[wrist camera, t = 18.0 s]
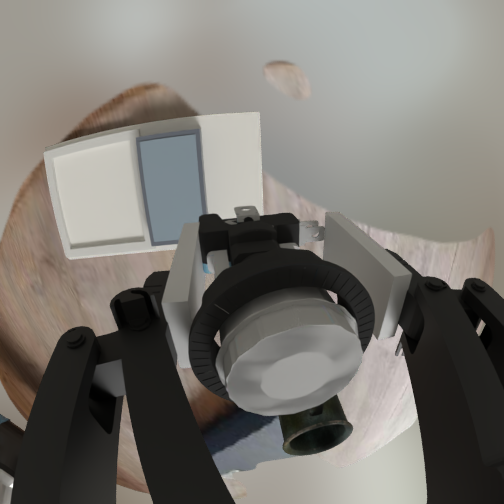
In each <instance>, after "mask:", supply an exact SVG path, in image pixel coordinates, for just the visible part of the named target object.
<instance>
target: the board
mask: <svg viewBox="0 0 504 504" xmlns="http://www.w3.org/2000/svg"><path fill="white" fill-rule="evenodd" d="M200 128H201V132H202V146H203V159H204V172H205V183H206V195H207V205H208V214H218V215H219V216H220V218H221V219H231V218H237V217H236V214H235V211H234V208H235V207H240V206H255V207H256V209H257V210H258V213H259V214H260V216H262V215H263V189H262V162H261V136H260V135H261V134H260V114H259V112H241V113H224V114H213V115H212V114H211V115H201V116H191V117H183V118H175V119H167V120H161V121H154V122H148V123H142V124H137V125H131V126H126V127H121V128H117V129H112V130H107V131H103V132H99V133H95V134H91V135H87V136H83V137H79V138H75V139H72V140H68V141H65V142H61V143H58V144H55V145H52V146H49V147H46V148H45V150H46V152H44V160H45V167H46V173H47V179H48V185H49V190H50V195H51V200H52V205H53V209H54V214H55V218H56V222H57V226H58V230H59V234H60V237H61V241H62V245H63V248H64V251H65V255H66V258H69V260H71V259H80V258H90V257H101V256H111V255H121V254H131V253H142V252H153V251H163V250H174V249H176V248H177V245H178V244H172V245H162V246H151V241H150V235H149V230H148V224H147V219H146V213H145V207H144V200H143V194H142V187H141V180H140V172H139V164H138V156H137V146H136V137H141V136H147V135H153V134H160V133H167V132H174V131H182V130H191V129H200ZM243 210H244V211H245V210H250V209H243Z"/></svg>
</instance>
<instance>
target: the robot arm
mask: <svg viewBox="0 0 504 504" xmlns="http://www.w3.org/2000/svg"><path fill="white" fill-rule="evenodd" d="M199 224H200V223H199V222H194V223H184V225H183V228H182V232H181V235H180V238H179V241H178V245H177V248H176V252H175V255H174V258H173V262H172V265H171V269H170V271H158V272H153V273H152V274H151V275H150V276H149V277H148V278H147V279H146V281H145V284H144V286H143V287H144V288H139V287H138V288H131V289H128V290H125V291H122V292H121V293H119V294H117V295H116V296H115V297H114V298H113V299H112V300H111V303H110V308H111V311H112V313H113V316H114V319H115V321H116V324H117V326H118V331H116V332H113V333H110V334H106V335H102V336H98V337H96V336H95V333H94V332H93V330H92V329H90V328H89V327H84V326H80V327H75V328H72V329H70V330H68V331H67V332H65V333H64V334H63V335H62V336H61V338H60V339H59V340H58V343H57V345H56V347H55V349H54V352H53V354H52V356H51V359H50V361H49V363H48V366H47V368H46V371H45V373H44V376H43V379H42V381H41V384H40V387H39V389H38V392H37V395H36V398H35V401H34V404H33V407H32V410H31V413H30V416H29V419H28V422H27V426H26V429H25V431H23V430H22V429H21V428H19V427H18V426H16V425H15V424H14V423H12V422H11V421H10V419H8V418H5V417H4V416H3V415H1V414H0V504H116V478H117V457H118V443H119V432H120V422H121V413H122V404H123V397H124V395H126V397H127V402H128V408H129V413H130V419H131V423H132V428H133V433H134V437H135V442H136V446H137V450H138V454H139V458H140V462H141V465H142V469H143V472H144V476H145V479H146V483H147V486H148V489H149V492H150V495H151V498H152V501H153V504H235V502H234V500H233V498H232V496H231V494H230V493H229V491H228V489H227V487H226V485H225V483H224V481H223V479H222V477H221V475H220V473H219V471H218V469H217V467H216V465H215V463H214V460H213V458H212V456H211V454H210V452H209V450H208V447H207V445H206V443H205V441H204V438H203V436H202V434H201V431H200V429H199V427H198V424H197V422H196V419H195V417H194V415H193V412H192V410H191V407H190V404H189V402H188V399H187V397H186V394H185V391H184V389H183V386H182V383H181V380H180V378H179V375H178V372H177V369H176V365H177V359H178V363H179V366H180V368H191V365H190V361H189V355H188V343H189V333H190V328H191V325H192V322H193V319H194V317H195V316H196V314H197V312H198V310H199V309H200V307H201V305H202V296H203V294H204V292H205V276H206V273H205V272H204V270H203V263H202V256H201V249H200V241H199V233H198V230H199ZM323 260H324V261H329V262H331V263H334V264H337V265H339V266H341V267H343V268H345V269H346V270H348V271H349V272H350V273H352V274H353V275H354V276H355V277H356V278H357V279H358V280H359V281H360V282H361V284H362V285H363V286H364V287H365V288H366V290H367V291H368V293H369V295H370V297H371V299H372V302H373V305H374V310H375V325H374V330H373V334H374V335H375V337H376V339H377V340H382V339H386V338H390V337H393V336H395V333H396V330H397V327H398V324H399V325H400V326H401V328H402V329H403V332H402V335H401V338H400V341H399V344H398V346H397V349H396V352H395V356H398V355H399V352H400V349H401V348H403V353H402V356H405V359H406V363H407V367H408V371H409V376H410V380H411V384H412V389H413V394H414V399H415V404H416V409H417V414H418V420H419V426H420V432H421V438H422V446H423V453H424V462H425V471H426V483H427V504H504V299H503V298H502V297H501V296H500V295H499V294H498V293H497V292H496V291H494V289H492V288H491V287H490V286H489V285H488V284H487V283H485V282H484V281H482V280H481V279H478V278H468V279H466V280H465V282H464V285H463V288H462V290H455V289H451V288H450V287H449V285H448V284H447V283H446V282H445V281H443V280H441V279H438V278H436V277H430V276H427V277H423V276H421V275H420V274H419V273H418V272H417V271H416V270H415V269H414V268H413V267H411V266H410V265H408V263H407V262H406V261H405V260H403V259H402V258H401V257H400V256H399V255H398V254H396V253H394V252H392V251H390V250H388V249H384V248H383V247H381V246H380V245H379V244H378V243H377V242H376V241H374V240H373V239H372V238H371V237H370V236H368V235H367V234H366V233H365V232H364V231H362V230H361V229H360V228H359V227H358V226H356V225H355V224H354V223H353V222H351V221H350V220H349V219H348V218H346V217H345V216H344V215H343V214H341V213H340V212H326V216H325V235H324V251H323ZM481 319H482V320H483V321H484V323H485V324H486V325H485V327H484V329H483V331H482V333H481V335H480V336H478V334H477V332H476V330H477V328H478V326H479V324H480V321H481Z"/></svg>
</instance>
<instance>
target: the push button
mask: <svg viewBox="0 0 504 504" xmlns="http://www.w3.org/2000/svg"><path fill="white" fill-rule="evenodd" d="M243 209H250V210H245V211H244V210H243ZM234 211H235V214H236V217H237V218H231V219H221V218H220V216H219V215H218V214H204V215H201V216H199V223H200V224H199V230H198V233H199V241H200V249H201V256H202V263H203V270H204V272H205V273H214V276H215V280H214V281H213V282H212V284H211V285H210V286H209V287H208V289H207V290H206V291H205V292H204V294H203V296H202V305H201V307H200V309H199V310H198V312H197V314H196V316H195V317H194V319H193V322H192V325H191V328H190V333H189V343H188V355H189V361H190V365H191V368H192V370H193V372H194V374H195V376H196V377H197V379H198V380H199V381H200V382H201V383H202V384H203V385H204V386H205V387H206V388H207V389H208V390H210V391H211V392H213V393H214V394H216V395H218V396H219V397H222V398H224V399H226V400H229V401H232V402H235V403H236V404H237V405H238V407H240V408H242V409H244V410H245V411H249V412H253V413H258V414H261V415H267V416H272V415H285V414H294V413H298V412H301V411H304V410H307V409H310V408H312V407H315V406H318V405H320V404H322V403H324V402H326V401H327V400H328V399H330V398H331V397H333V396H334V395H336V394H337V393H339V392H340V391H342V390H343V389H344V387H346V386H347V385H348V384H349V382H350V381H351V379H352V378H353V377H354V376H355V375H356V373H357V372H358V369H359V366H360V365H361V363H362V360H361V359H362V355H363V353H364V352H365V350H366V348H367V346H368V344H369V342H370V340H371V337H372V334H373V330H374V325H375V310H374V305H373V302H372V299H371V297H370V295H369V293H368V291H367V290H366V288H365V287H364V286H363V285H362V284H361V282H360V281H359V280H358V279H357V278H356V277H355V276H354V275H353V274H352V273H350V272H349V271H348V270H346V269H345V268H343V267H341V266H339V265H337V264H334V263H331V262H329V261H324V260H322V259H321V258H319V257H318V256H317V255H316V254H314V253H313V252H311V251H309V250H300V249H299V246H301V245H305V242H314V241H323V240H324V231H325V228H324V227H323V226H318V221H317V220H316V221H304V222H300V219H297V218H296V217H295V216H294V215H293V214H292V213H279V214H273V215H262V216H260V214H259V213H258V210H257V209H256V207H255V206H240V207H235V208H234ZM308 225H312V226H313V227H307V226H308ZM306 227H307V228H306ZM318 232H319V235H318V236H317V237H312V235H314V234H317V233H318ZM326 290H329V291H332V292H334V293H336V294H337V298H338V304H335V302H334V301H333V299H332V298H331V296H330V295H329V294H328V292H327V291H326ZM218 330H219V331H220V341H221V347H219V346H218V344H217V343H216V342H215V340H214V337H215V335H216V333H217V331H218Z"/></svg>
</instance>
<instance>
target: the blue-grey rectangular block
mask: <svg viewBox="0 0 504 504" xmlns="http://www.w3.org/2000/svg"><path fill="white" fill-rule="evenodd" d="M136 146H137V156H138V164H139V172H140V180H141V187H142V194H143V200H144V207H145V213H146V219H147V224H148V230H149V235H150V241H151V246H162V245H172V244H178V241H179V238H180V235H181V232H182V228H183V225H184V223H194V222H199V216H201V215H204V214H208V205H207V195H206V183H205V172H204V159H203V146H202V132H201V128H200V129H191V130H182V131H174V132H167V133H160V134H153V135H147V136H141V137H136Z"/></svg>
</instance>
